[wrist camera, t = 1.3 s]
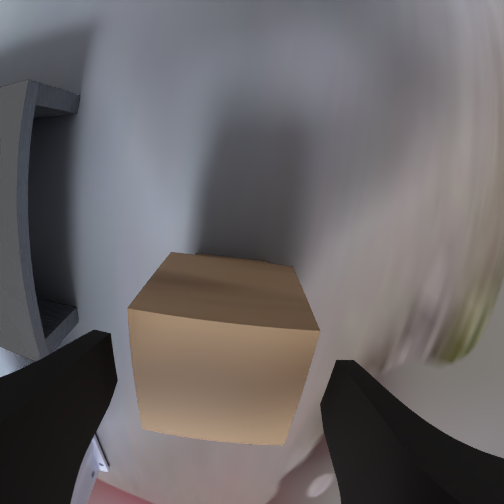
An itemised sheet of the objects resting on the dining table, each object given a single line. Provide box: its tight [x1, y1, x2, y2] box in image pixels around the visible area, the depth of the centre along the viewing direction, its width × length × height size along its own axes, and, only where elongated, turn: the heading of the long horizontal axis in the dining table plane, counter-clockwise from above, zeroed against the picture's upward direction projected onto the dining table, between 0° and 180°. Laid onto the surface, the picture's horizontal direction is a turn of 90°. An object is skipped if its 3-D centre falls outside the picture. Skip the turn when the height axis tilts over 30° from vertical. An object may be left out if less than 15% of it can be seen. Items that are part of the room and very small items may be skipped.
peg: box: [127, 252, 320, 445], centre depth 12 cm, size 5×5×7 cm
